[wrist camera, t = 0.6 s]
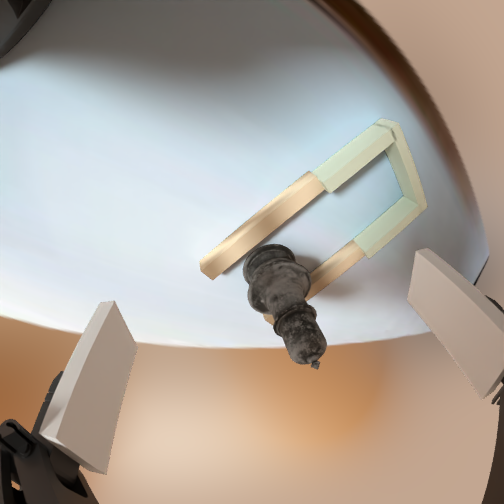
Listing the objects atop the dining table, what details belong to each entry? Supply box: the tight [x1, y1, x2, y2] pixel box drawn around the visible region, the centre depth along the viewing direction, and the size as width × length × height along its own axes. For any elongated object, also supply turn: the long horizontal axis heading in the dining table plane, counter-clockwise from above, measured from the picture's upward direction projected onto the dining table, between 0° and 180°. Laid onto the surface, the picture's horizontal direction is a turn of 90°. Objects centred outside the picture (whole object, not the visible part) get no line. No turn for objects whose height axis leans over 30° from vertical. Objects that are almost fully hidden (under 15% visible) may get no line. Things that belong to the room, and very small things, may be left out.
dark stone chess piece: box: [243, 244, 327, 369], centre depth 22 cm, size 6×6×12 cm
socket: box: [311, 118, 428, 259], centre depth 23 cm, size 9×10×2 cm
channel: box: [199, 171, 365, 325], centre depth 26 cm, size 12×11×2 cm
